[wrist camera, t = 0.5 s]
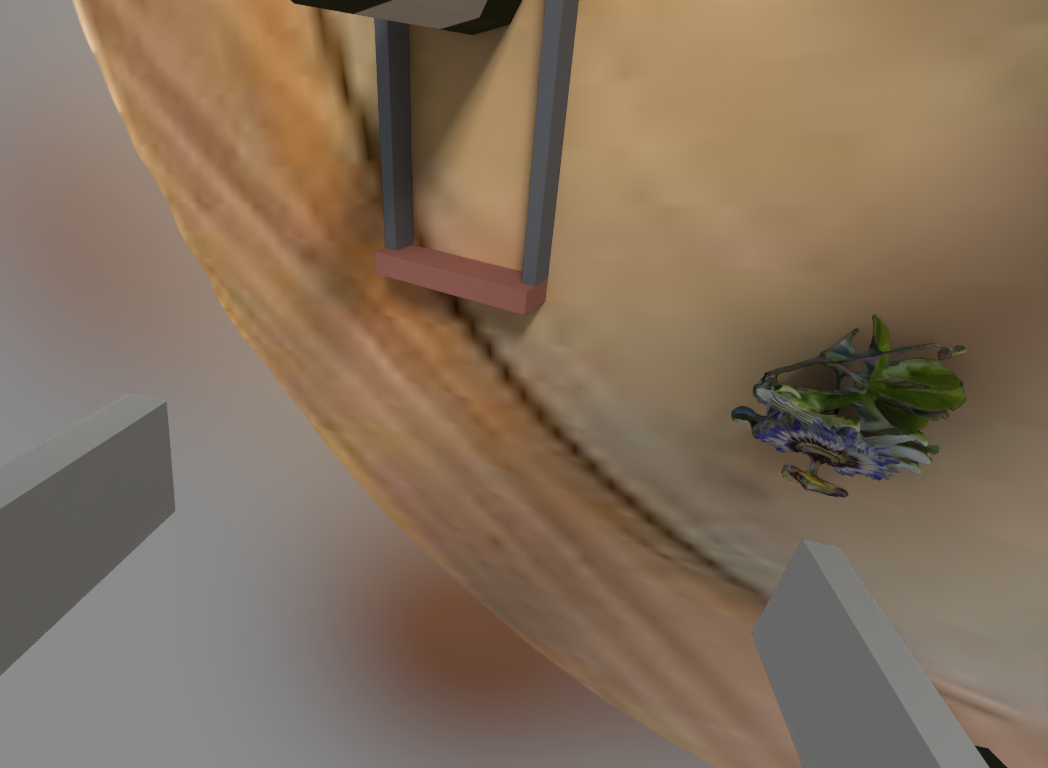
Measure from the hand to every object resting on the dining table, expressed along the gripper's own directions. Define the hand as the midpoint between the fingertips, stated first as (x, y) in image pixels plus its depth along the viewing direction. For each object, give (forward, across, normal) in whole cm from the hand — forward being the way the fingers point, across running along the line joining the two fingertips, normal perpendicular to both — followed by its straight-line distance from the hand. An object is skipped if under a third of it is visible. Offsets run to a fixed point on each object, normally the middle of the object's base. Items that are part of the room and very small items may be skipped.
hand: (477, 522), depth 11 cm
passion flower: (+28, +23, -3) cm, 36 cm away
